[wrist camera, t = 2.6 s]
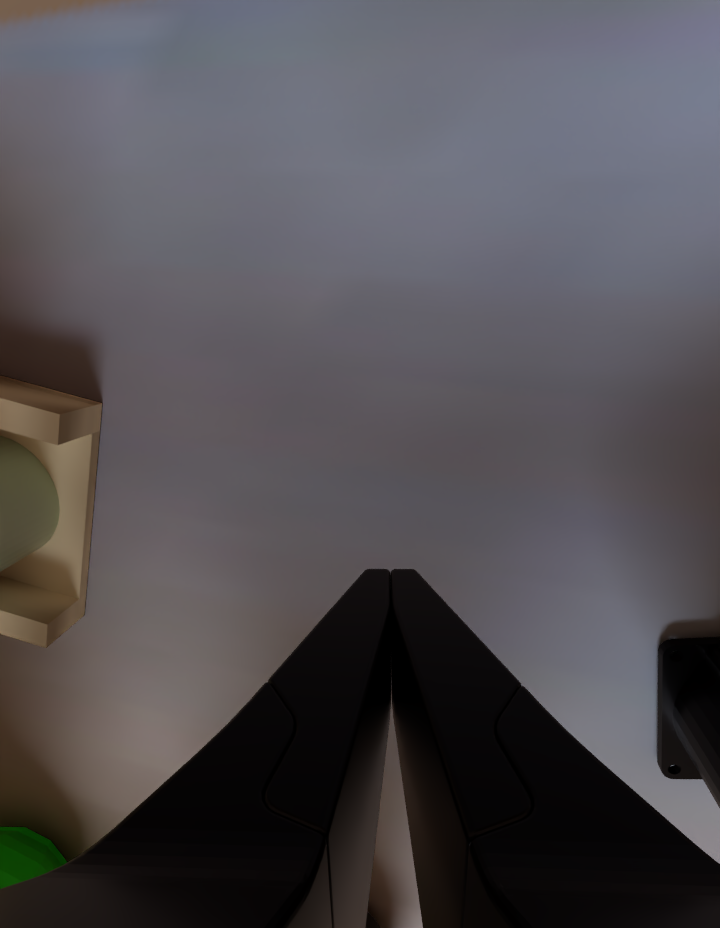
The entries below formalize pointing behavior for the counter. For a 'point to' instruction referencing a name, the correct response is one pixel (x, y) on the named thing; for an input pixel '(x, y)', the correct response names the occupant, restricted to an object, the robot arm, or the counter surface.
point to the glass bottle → (24, 503)
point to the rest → (74, 475)
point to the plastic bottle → (25, 855)
